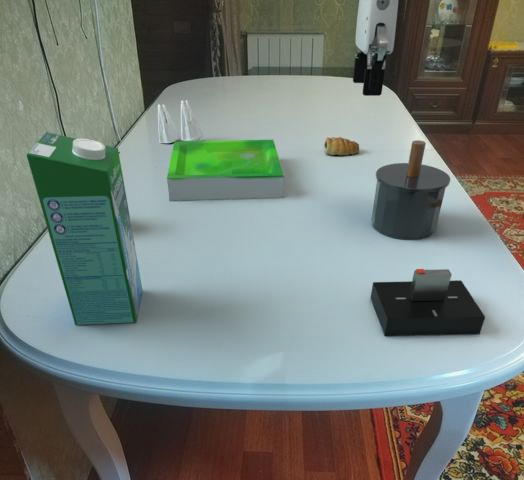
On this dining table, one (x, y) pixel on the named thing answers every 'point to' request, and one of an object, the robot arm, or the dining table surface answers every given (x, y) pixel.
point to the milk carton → (88, 227)
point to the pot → (406, 212)
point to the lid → (413, 173)
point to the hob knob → (430, 285)
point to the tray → (224, 170)
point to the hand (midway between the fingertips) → (366, 88)
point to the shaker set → (188, 125)
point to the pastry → (340, 146)
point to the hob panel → (425, 311)
